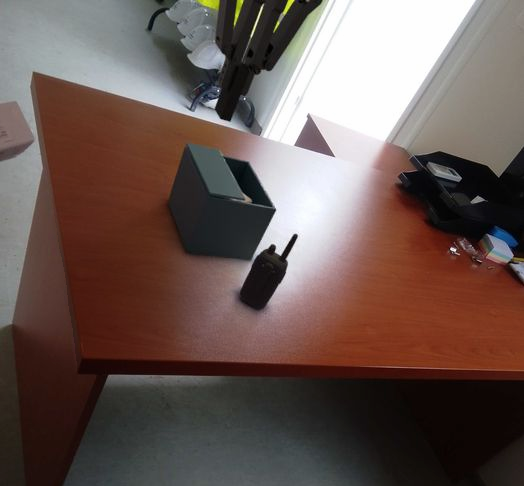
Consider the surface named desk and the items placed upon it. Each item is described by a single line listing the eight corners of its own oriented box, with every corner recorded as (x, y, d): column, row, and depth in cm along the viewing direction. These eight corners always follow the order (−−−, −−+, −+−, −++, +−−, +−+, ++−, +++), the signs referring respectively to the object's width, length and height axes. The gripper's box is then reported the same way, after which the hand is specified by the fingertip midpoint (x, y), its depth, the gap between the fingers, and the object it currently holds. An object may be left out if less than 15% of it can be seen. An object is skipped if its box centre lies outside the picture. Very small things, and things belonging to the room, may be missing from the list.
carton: (187, 253, 80) (208, 197, 72) (167, 201, 88) (184, 146, 80) (251, 260, 87) (276, 209, 79) (227, 211, 95) (248, 161, 87)
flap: (209, 194, 72) (210, 192, 72) (186, 144, 80) (186, 142, 80) (244, 200, 75) (245, 198, 75) (218, 151, 83) (219, 149, 83)
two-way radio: (268, 304, 80) (308, 236, 70) (259, 317, 76) (300, 248, 66) (241, 288, 80) (277, 217, 70) (231, 300, 76) (268, 228, 66)
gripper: (264, -143, 40) (184, 116, 56) (370, -71, 47) (272, 142, 63) (237, -159, 44) (169, 87, 60) (338, -90, 51) (254, 114, 67)
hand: (222, 115), depth 61 cm, fingers closed
